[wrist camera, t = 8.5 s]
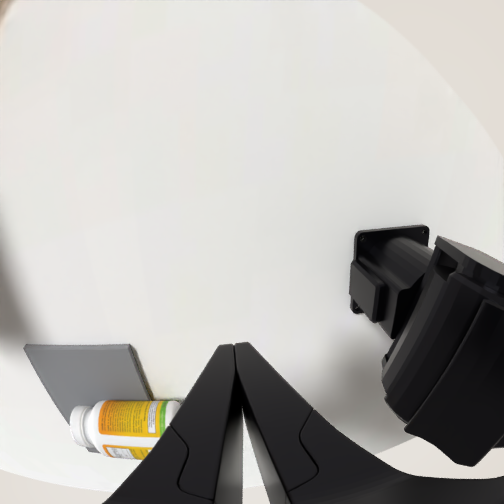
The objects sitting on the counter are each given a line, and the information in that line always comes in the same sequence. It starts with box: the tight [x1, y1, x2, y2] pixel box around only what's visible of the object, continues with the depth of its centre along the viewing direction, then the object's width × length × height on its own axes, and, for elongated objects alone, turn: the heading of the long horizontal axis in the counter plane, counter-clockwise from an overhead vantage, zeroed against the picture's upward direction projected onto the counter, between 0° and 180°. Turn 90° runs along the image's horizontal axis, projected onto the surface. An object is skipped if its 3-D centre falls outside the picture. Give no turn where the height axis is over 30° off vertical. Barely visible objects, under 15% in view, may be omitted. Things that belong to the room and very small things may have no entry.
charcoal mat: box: [24, 344, 151, 453], centre depth 24 cm, size 11×16×1 cm
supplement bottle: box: [70, 400, 181, 460], centre depth 21 cm, size 5×5×10 cm
